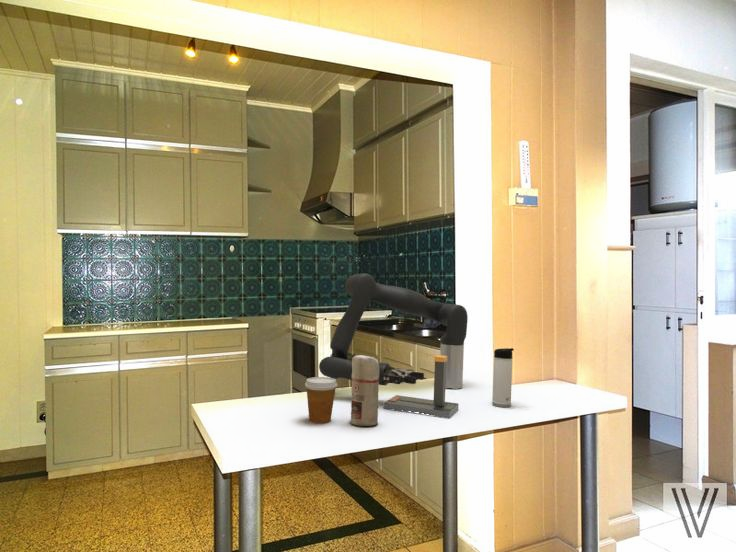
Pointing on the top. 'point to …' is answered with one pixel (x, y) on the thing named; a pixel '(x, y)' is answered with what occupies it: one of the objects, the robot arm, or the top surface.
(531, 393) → the top surface
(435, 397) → the lever
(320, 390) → the disposable coffee cup
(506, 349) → the travel mug
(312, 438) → the top surface
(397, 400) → the switch base
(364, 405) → the spray can
